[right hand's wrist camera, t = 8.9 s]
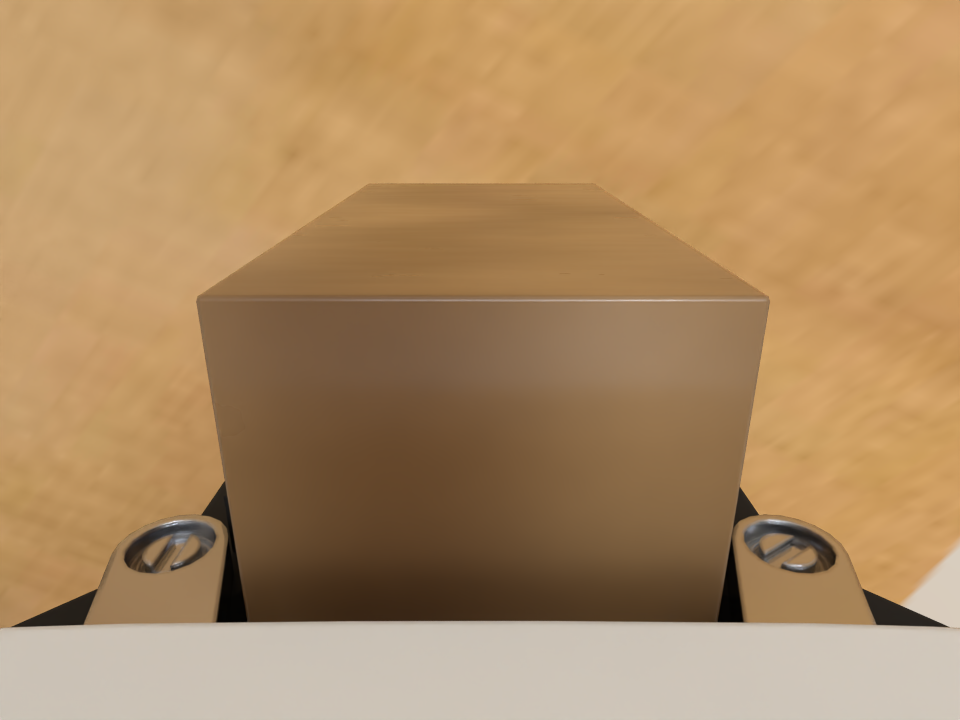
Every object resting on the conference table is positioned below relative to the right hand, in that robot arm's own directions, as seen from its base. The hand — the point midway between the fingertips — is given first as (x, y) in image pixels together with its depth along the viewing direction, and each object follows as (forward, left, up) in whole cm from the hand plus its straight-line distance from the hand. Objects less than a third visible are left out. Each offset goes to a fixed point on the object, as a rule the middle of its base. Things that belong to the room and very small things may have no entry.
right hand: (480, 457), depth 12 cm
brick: (0, 0, -4) cm, 4 cm away
